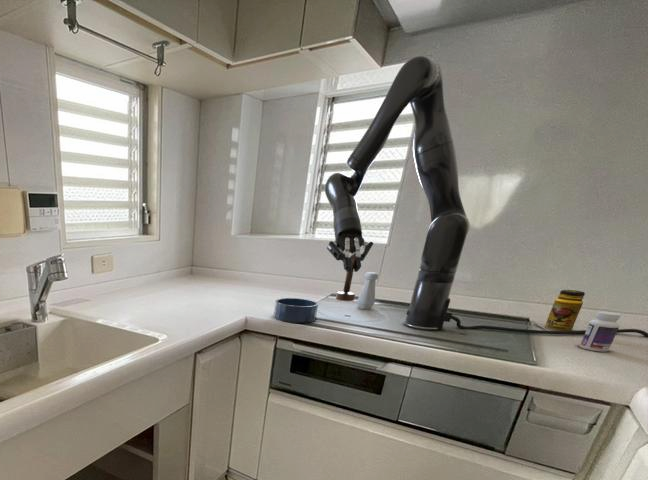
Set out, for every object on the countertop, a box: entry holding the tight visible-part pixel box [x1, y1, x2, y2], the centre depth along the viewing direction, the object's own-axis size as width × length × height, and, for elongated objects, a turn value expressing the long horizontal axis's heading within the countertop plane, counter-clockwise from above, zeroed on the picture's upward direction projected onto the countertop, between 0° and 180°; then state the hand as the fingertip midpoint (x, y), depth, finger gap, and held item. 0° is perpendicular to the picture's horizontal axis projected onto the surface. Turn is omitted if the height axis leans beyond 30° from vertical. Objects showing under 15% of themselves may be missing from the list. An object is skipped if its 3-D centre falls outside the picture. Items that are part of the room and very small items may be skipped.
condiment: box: [535, 289, 586, 331], centre depth 123 cm, size 7×8×12 cm
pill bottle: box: [579, 311, 622, 353], centre depth 105 cm, size 5×5×10 cm
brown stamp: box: [335, 254, 356, 302], centre depth 123 cm, size 5×5×13 cm
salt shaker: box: [356, 271, 379, 310], centre depth 147 cm, size 6×6×13 cm
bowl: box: [273, 297, 319, 324], centre depth 133 cm, size 13×13×6 cm
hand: (353, 269), depth 120 cm, fingers closed on brown stamp
